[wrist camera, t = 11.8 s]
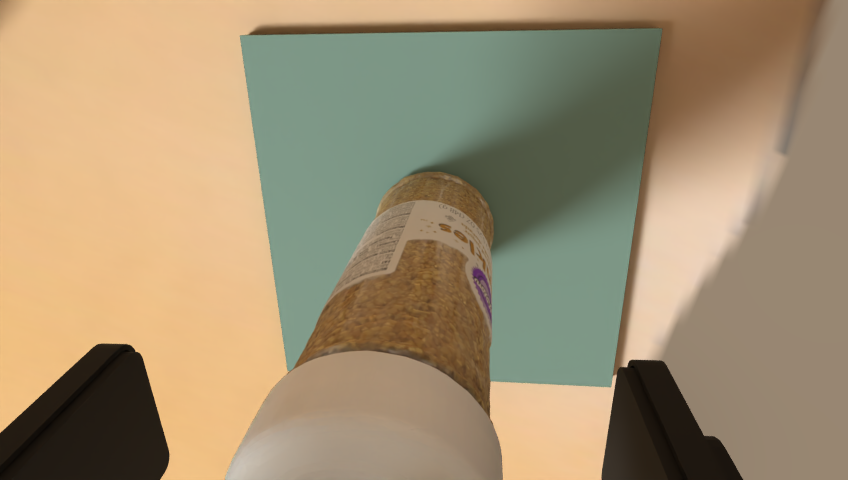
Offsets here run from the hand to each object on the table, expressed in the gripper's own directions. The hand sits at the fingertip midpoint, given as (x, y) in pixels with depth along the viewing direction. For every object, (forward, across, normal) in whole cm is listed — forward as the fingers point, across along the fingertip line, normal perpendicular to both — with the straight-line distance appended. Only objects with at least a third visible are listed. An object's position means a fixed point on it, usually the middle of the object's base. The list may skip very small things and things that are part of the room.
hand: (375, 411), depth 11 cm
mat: (+11, -1, +1) cm, 11 cm away
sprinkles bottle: (+11, 0, 0) cm, 11 cm away
